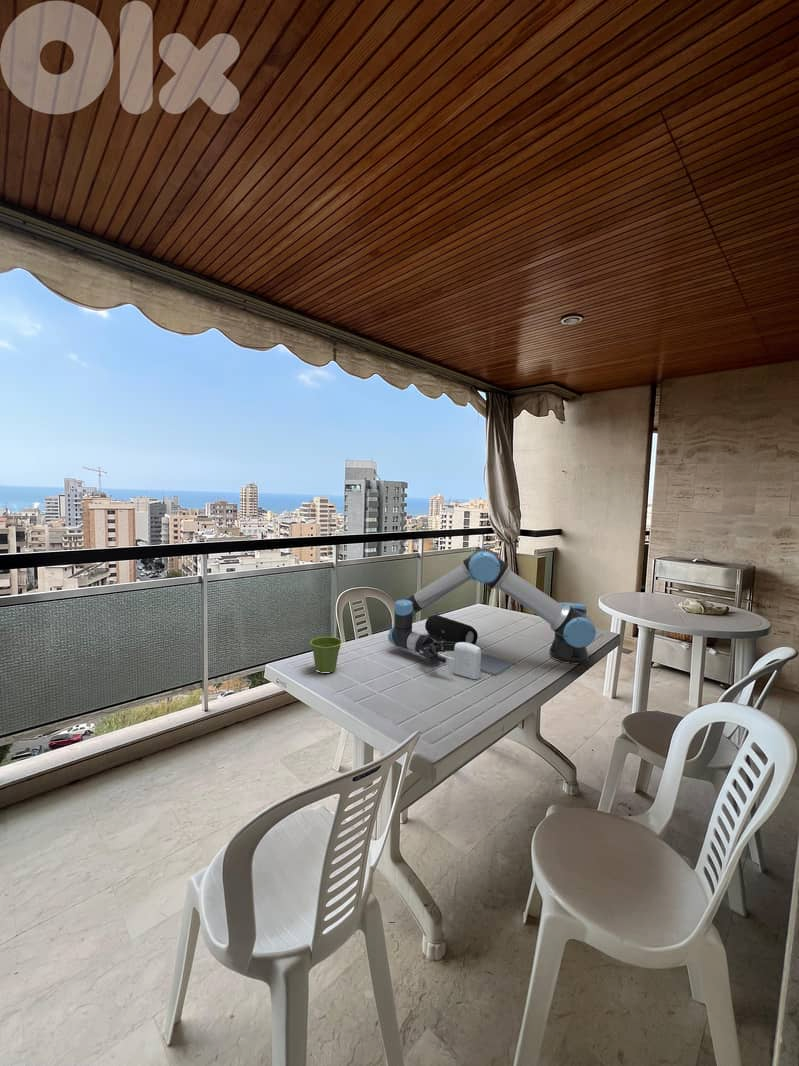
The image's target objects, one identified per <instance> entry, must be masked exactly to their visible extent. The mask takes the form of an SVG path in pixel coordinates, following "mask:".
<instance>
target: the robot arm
mask: <svg viewBox="0 0 799 1066" xmlns="http://www.w3.org/2000/svg"><path fill="white" fill-rule="evenodd" d="M510 567H511V566H510V564H508V562H505V561H504V560H503V559H501V558H500V557H498V555H497V554H496V553H495V552H494V551H493V550H492V549H490V548H480V549H477V550H476V551H475V552H473V553H472V554H471V555H469V556H468V557H466V559H464V560H462V562H461V564H459V566H457V567H455V568H454V569H452V570H450V571H449V572H448V573H446V574H444V575H443V576H441V577H439V578H437V579H436V580H434V581H432V582H431V583H429V584H428V585H426V586H425V587H423V588H421V589H420V590H418V591H417V592H415V593H413V594H412V595H410V596H407V597H406V598H404V599H399V600H395V603H394V609H393V611H394V613H393V614H394V616H393V617H394V621H393V622H394V623H393V625H394V626H393V627H391V628H390V629H389V631H388V632H389V633H388V635H387V639H388V641H389V643H391V644H392V645H394V646H395V647H398V648H402V649H405V650H408V651H411V652H413V653H418V654H419V655H420V656H423V657H424V658H425V659H426V660H427V661H429V662H430V663H431V664H432V663H433V664H436V665H437V664H439V663H442V664H444V665H447V666H450V667H454V666H455V659H454V657H450V656H447V655H444V654H441V653H444V652H454V648H455V644H456V643H458V642H449V641H445V640H442V639H440V640H439V642H438V641H434V640H433V638H432V636H429V635H426V634H422V633H419V632H416V631H413V617H414V616H415V614H417V613H419V612H420V611H421V610H424V609H425V608H427V606H429V605H431V604H433V603H435V602H436V601H438V600H440V599H442V598H443V597H444V596H446V595H448V594H449V593H451V592H453V591H455V590H456V589H458V588H459V587H461V586H463V585H464V584H466V583H468V582H470V581H471V580H472V581H475V582H476V581H477V582H479V583H480V584H481V583H482V584H484V585H486V586H488V588H490V589H491V590H493V589H494V590H495V589H498V590H500V591H501V592H502V593H505V594H506V595H507V596H508V597H510V598H512V599H513V600H515V602H517V603H519V604H520V605H522V606H523V607H525V609H526V608H527V610H529V611H531V612H532V613H534V614H535V615H536V616H537V617H540V619H542V620H544V621H545V622H547V623H548V624H549V626H550V629H551V631H553V632H554V639H553V641H552V643H551V645H550V648H549V653H548V655H549V654H550V655H551V656H552V657H553V658H555V659H558V660H560V661H563V662H569V663H579V664H578V665H583V664H586V663H588V661H589V654H588V653H589V652H588V649H587V647H588V646H590V645H591V644H592V643H593V642H594V640H595V638H596V633H597V631H596V627H595V625H594V623H593V621H592V620H591V619H590V618H589V617H588V616H587V612H588V610H587V606H586V605H585V604H582V603H575V602H558V601H556V599H553V598H552V597H551V596H550V595H547V593H545V592H543V591H542V590H540V588H539V589H538V588H537V587H536V586H534V585H533V584H531V583H530V582H529V581H527V580H525V579H524V578H522V577H521V576H519V575H518V574H516V573H515V572H514V571H512V570H511V568H510ZM438 653H440V654H438ZM550 655H549V656H550ZM553 658H552V659H553ZM560 661H559V662H560ZM563 662H562V663H563Z"/></svg>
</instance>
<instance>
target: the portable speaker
mask: <svg viewBox="0 0 799 1066" xmlns="http://www.w3.org/2000/svg"><path fill="white" fill-rule="evenodd" d="M424 628H425V630H426V632H427V633H428V634H429V635H430V636H431V637H435V638H437V639H440V640H443V641H449V642H466V643H471V644H473V645H476V643H478V642H477V641H478V639H479V637H478V635H479V634H478V631H477V630H476V629H475V628H474V627H473V626H471V625H469V624H465V623H463V622H459V621H457V620H455V619H454V620H453V619H451V618H448V617H444V616H441V615H438V614H435V615H430V616H428V617H427V618H426V620H425V627H424Z"/></svg>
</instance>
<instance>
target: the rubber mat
mask: <svg viewBox="0 0 799 1066" xmlns="http://www.w3.org/2000/svg"><path fill="white" fill-rule="evenodd" d="M515 664H516V665H517V662H515V661H511V660H509V659H505V658H502V657H498V656H494V655H491V654H488V653H484V652H482V651H481V663H480V672H481V671H482V672H481V673H484V672H485V673H484V674H487V673H488V674H487V675H490V674H491V675H490V676H493V675H494V676H493V677H497V676H498V674H499V673H500V674H502V673H503V671H504V672H506V671H507V670H509V669H510V667H511V666H513V665H514V666H516V665H515ZM514 666H513V667H514ZM508 668H509V669H508ZM511 668H512V667H511ZM506 669H507V670H506ZM505 670H506V671H505ZM501 672H502V673H501ZM500 674H499V675H500ZM496 675H497V676H496Z"/></svg>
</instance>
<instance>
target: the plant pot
mask: <svg viewBox="0 0 799 1066" xmlns="http://www.w3.org/2000/svg"><path fill="white" fill-rule="evenodd" d="M342 643H343V640H342V639H340V638H338V637H335V636H320V637H316V638H313V639H311V640H310V641H309V644H310V646H311V650H312V653H313V660H314V667H315V671H316V670H318V671H320V672H331V671H334V670H335V671H336V668H337V663H338V658H339V657H338V656H339V651H340V649H341V645H342ZM335 671H334V672H335Z"/></svg>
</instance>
